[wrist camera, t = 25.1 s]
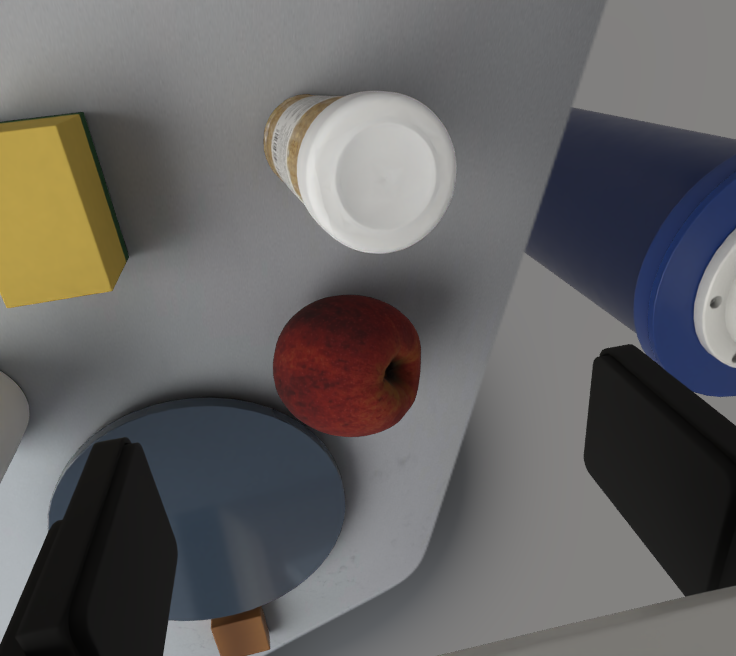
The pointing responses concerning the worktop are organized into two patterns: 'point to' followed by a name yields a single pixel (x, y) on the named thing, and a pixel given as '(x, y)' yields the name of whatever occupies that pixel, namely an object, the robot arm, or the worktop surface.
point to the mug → (11, 420)
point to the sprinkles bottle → (364, 165)
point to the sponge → (55, 213)
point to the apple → (348, 365)
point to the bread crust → (241, 633)
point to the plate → (230, 499)
